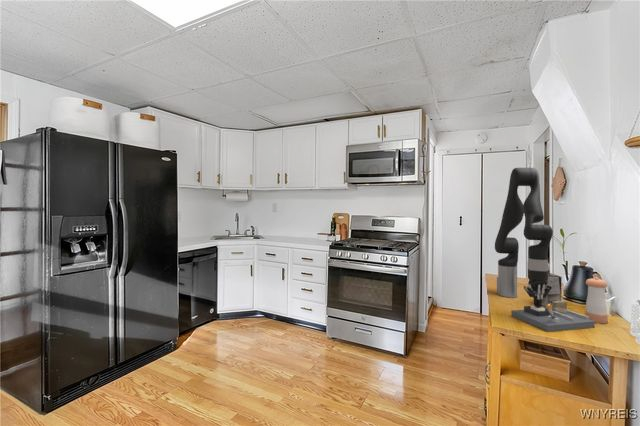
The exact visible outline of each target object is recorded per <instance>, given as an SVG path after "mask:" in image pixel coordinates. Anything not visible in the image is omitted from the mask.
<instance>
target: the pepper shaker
mask: <svg viewBox="0 0 640 426" xmlns="http://www.w3.org/2000/svg"><path fill="white" fill-rule="evenodd" d="M585 284H586V286H587V297H586V301H585V305H586V306H585V311H584V315H585V316H588V317H589V320H592V321H595V322H596V324H597V323H598V324H607V322H608V321H609V319H608V318H609V315H608V313H607V310H608V308H607V300H606V288H607V287H608V283H607V282H606V281H605V280H604V279H600V278H599V277H598V276H596V277H595V276H594V277H593V278H587V279H586V281H585ZM608 323H609V322H608Z"/></svg>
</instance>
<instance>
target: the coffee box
mask: <svg viewBox="0 0 640 426" xmlns="http://www.w3.org/2000/svg"><path fill="white" fill-rule="evenodd" d="M562 280H563V279H562V276H560V275H558V274H555V273H552V272H551V273H550V272H548V280H547V285H549V286H551V287H552V288H551V290H550V292H549V293H548V295H547V296H546V297H544V298H543V299H542V307H544V308H546V305H547V304H550V305H551V306H552V302H554V301H562ZM540 292H541V291H540Z"/></svg>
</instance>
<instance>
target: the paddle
mask: <svg viewBox="0 0 640 426" xmlns="http://www.w3.org/2000/svg"><path fill="white" fill-rule="evenodd" d="M567 310H568V301H567V300H566V301H565V300H561V301H554V302H552V311H555V312H558V313H567Z"/></svg>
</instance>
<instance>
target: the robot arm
mask: <svg viewBox="0 0 640 426" xmlns="http://www.w3.org/2000/svg"><path fill="white" fill-rule="evenodd" d="M539 175H540V174H539V171H538V169H537V168H535V167H514V168H513V169H512V170H511V173H510V177H509V185H508V191H507V197H506V200H505V205H504V209H503V212H502V217H501V222H500V225H499V230H498V233H497V235H496V237H495V240H494V241H495V242H494V250H495V252H496V253H497V254H501V255H502V254H507V256H505V257H502V258H499V259H498V261H497V277H496V294H497V295H499V296H500V297H504V298H518V262H519V241H518V239H517V238H516V237H508V235H509V234H510V233H511V232H512V231H513V230H515V228H516V227H518V226H519V225H520V224H521V223H522V221H523V218H524V220H525V221H524V228H523V236H524V238H526V240H528V241H540V242H539V243H536V244H532V245H529V246H528V251H527V254H528V257H527V279H528V282H527V286H525V285H524V286H523V289H524V291H525V292H526V293H527V295H528V297H529V298H532V299H533V306H535V307H543V305H542V299H543V298H544V297H546V296H547V295H548V293H549V292H550V290H551V288H552V287H551V286H549V285H547V280H548V273H549V262H548V261H549V260H548V256H549V255H548V252H549V247H550V244H551V243H550V242H551V241H552V238H553V234H554V230H553V229H552V227H551V226H550V225H549V224H537V223H540V222H542V221H544V218H545V217H544V211H543V208H542V203H541V188H540V187H541V185H540V176H539ZM519 187H530V192H529V193H528V194H527V197H526V198H525V200H524V202H522V200H521V198H520V195H519V193H518V192H519V191H518V189H519ZM540 291H541V292H540Z"/></svg>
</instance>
